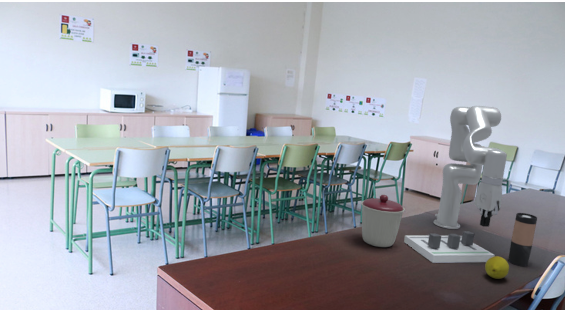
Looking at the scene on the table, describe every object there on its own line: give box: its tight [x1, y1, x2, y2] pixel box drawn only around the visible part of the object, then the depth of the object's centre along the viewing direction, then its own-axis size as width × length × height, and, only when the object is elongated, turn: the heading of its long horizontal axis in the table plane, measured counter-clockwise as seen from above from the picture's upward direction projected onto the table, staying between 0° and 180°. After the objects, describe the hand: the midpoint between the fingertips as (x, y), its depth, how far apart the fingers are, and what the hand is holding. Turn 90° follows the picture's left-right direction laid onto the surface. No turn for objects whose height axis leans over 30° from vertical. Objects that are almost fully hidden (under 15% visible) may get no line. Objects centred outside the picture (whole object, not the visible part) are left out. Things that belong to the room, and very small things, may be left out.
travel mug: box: [507, 212, 538, 267], centre depth 183 cm, size 8×8×20 cm
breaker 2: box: [447, 233, 462, 248], centre depth 185 cm, size 3×4×5 cm
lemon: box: [484, 255, 510, 280], centre depth 165 cm, size 11×8×8 cm
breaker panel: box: [403, 235, 496, 264], centre depth 189 cm, size 22×28×3 cm
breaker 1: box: [428, 233, 442, 248], centre depth 183 cm, size 3×4×5 cm
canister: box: [360, 194, 406, 248], centre depth 190 cm, size 18×18×21 cm
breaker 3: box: [461, 230, 475, 245], centre depth 190 cm, size 3×4×5 cm
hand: (484, 225), depth 181 cm, fingers closed
